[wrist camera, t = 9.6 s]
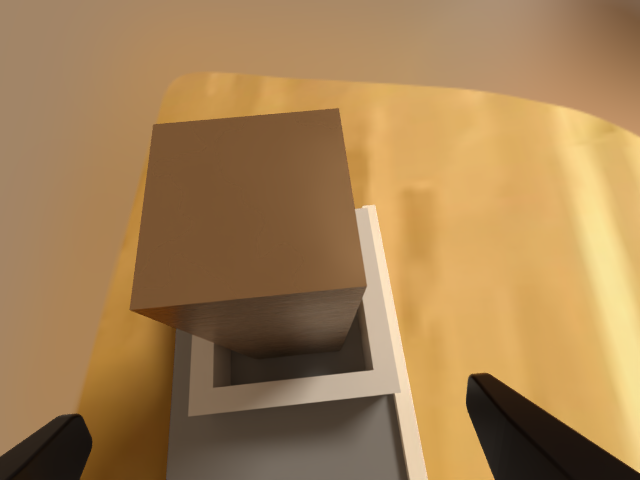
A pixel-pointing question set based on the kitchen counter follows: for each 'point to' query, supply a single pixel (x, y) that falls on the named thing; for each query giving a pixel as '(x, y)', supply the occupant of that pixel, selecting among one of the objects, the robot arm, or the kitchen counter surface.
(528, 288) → the kitchen counter surface
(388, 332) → the grey socket base
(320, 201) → the bar
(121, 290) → the kitchen counter surface
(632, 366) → the kitchen counter surface
